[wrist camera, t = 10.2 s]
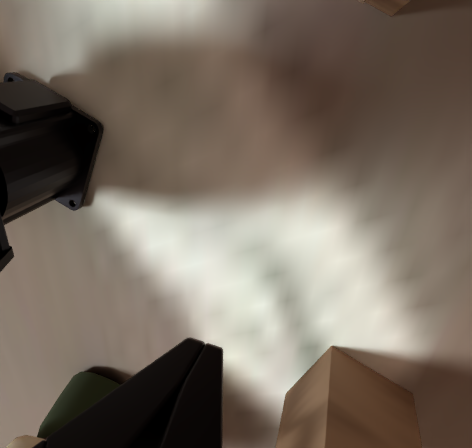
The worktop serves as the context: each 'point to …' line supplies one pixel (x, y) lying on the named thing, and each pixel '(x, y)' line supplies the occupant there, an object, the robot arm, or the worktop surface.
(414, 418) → the numbered block
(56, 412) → the character mug
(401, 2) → the numbered block
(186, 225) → the worktop surface
